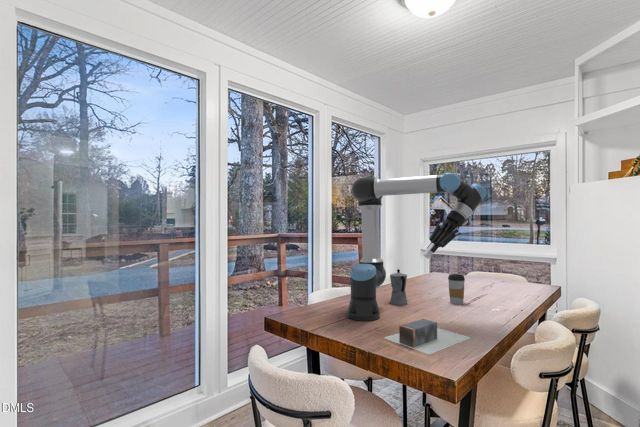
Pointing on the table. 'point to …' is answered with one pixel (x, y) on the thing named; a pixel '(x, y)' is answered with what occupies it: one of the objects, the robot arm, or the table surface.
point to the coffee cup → (456, 288)
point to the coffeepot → (398, 288)
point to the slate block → (417, 332)
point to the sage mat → (434, 341)
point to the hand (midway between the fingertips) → (425, 256)
